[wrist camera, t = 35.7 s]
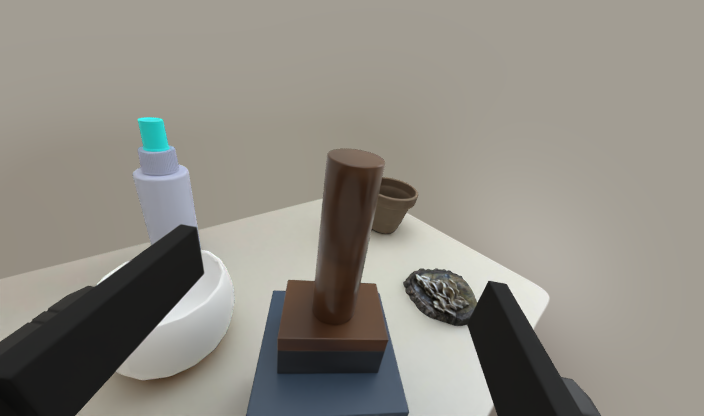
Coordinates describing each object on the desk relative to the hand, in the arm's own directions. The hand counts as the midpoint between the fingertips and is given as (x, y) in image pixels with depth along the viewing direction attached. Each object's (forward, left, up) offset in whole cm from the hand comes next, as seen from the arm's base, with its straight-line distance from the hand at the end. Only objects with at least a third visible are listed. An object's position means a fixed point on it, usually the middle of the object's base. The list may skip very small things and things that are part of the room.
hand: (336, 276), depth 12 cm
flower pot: (-15, -41, -22) cm, 49 cm away
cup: (+15, -12, -22) cm, 30 cm away
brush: (-1, -4, -10) cm, 11 cm away
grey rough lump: (-21, -20, -22) cm, 37 cm away
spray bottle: (+21, -26, -22) cm, 40 cm away
